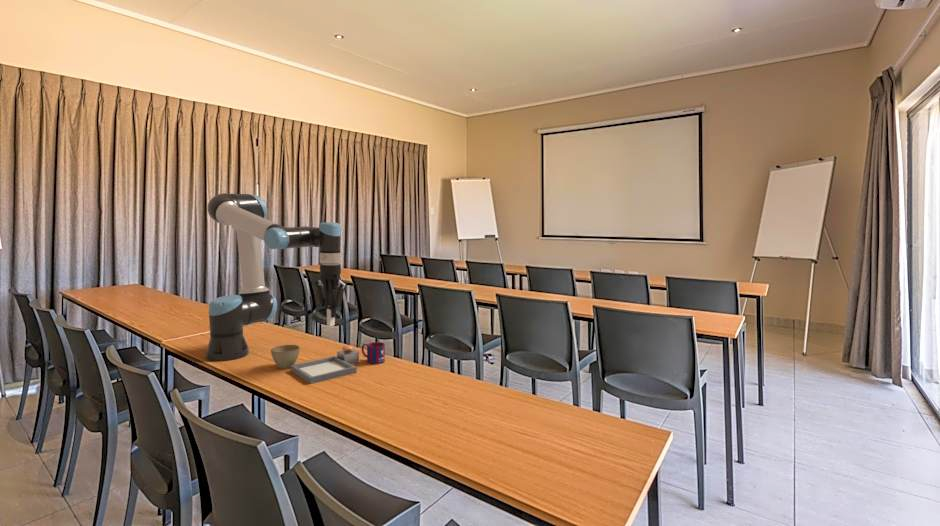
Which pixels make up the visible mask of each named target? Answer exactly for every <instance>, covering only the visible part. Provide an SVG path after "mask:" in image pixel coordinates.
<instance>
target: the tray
mask: <svg viewBox="0 0 940 526" xmlns="http://www.w3.org/2000/svg"><path fill="white" fill-rule="evenodd" d="M357 370H358V368H357V366H356V365H354V364H350V363H348V362H346V361H344V360H342V359H340V358H338V357H337V355H336V356H335V355H333V356H328V357H324V358H320V359H319V358H318V359H315V360H311V361H305V362H301V363H295V364H294V365H291V368H290V372H292V373H293V374H295V375H297V376H298V377H299V378H301V379H302V380H304V381H306V382H307V383H309V384H310V385H313V384H316V383H320V382H325V381H328V380H332V379H337V378H340V377H344V376H348V375H352V374H356V373H357V372H358V371H357Z"/></svg>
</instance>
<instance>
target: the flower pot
mask: <svg viewBox="0 0 940 526" xmlns="http://www.w3.org/2000/svg"><path fill="white" fill-rule="evenodd" d="M270 353H271V357H272V359H273V362H274V363H275V365H276V367H277V368H279V369H280V370H286V369H287V370H288V369H291V365H295V364H296V362H297V360H298V357H299V355H300V354H299V353H300V346H299V345H297V344H281V345H277V346H274V347H273V346H272V347H271V348H270Z"/></svg>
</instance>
